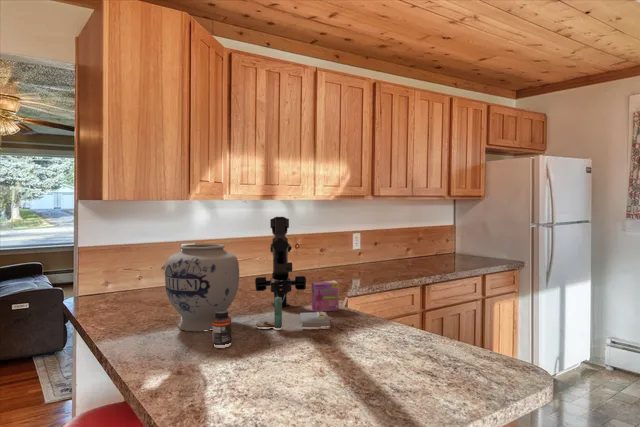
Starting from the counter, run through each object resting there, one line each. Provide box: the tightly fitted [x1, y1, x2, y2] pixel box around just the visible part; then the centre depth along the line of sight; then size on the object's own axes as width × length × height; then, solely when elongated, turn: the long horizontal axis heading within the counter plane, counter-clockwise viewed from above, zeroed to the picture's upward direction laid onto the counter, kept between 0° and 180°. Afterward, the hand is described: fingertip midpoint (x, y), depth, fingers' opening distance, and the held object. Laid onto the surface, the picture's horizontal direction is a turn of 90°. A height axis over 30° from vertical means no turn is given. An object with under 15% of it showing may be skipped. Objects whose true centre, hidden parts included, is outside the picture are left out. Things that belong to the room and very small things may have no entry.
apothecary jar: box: [164, 243, 240, 332], centre depth 161 cm, size 27×27×30 cm
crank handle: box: [255, 297, 283, 328], centre depth 157 cm, size 7×11×12 cm, turn 41°
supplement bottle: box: [212, 309, 233, 345], centre depth 138 cm, size 6×6×11 cm
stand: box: [299, 311, 331, 328], centre depth 161 cm, size 14×10×5 cm
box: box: [311, 280, 340, 312], centre depth 182 cm, size 10×6×12 cm, turn 105°
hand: (281, 303), depth 156 cm, fingers closed
